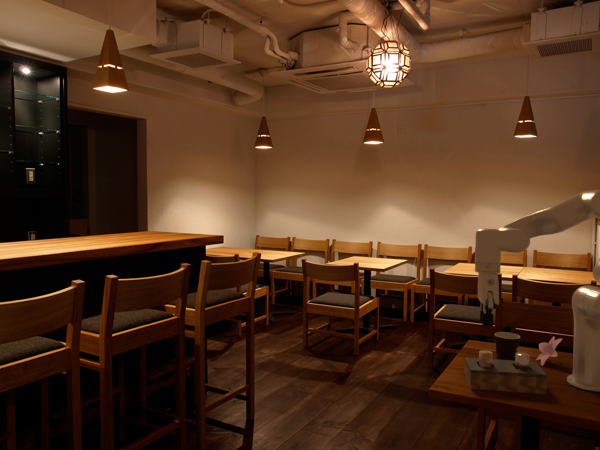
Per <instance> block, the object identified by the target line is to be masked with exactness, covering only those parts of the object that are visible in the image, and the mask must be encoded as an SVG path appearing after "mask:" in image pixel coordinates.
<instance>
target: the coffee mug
mask: <svg viewBox="0 0 600 450" xmlns="http://www.w3.org/2000/svg"><path fill="white" fill-rule="evenodd" d="M520 341H521V336H520V335H519V334H517V333H513V332H508V331H507V332H505V331H500V332H498V331H497V332H495V333H494V343H495V344H494V345H495V355H496V359H497V360H514V361H515V357H516V353H519V348H520Z"/></svg>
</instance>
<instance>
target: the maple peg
mask: <svg viewBox="0 0 600 450" xmlns="http://www.w3.org/2000/svg"><path fill="white" fill-rule="evenodd" d="M478 352H479V354H478V358H479V367H491V368H492V359H493V357H494V356H493V352H492V351H490V350H486V349H485V350H483V349H482V350H479V351H478Z"/></svg>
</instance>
